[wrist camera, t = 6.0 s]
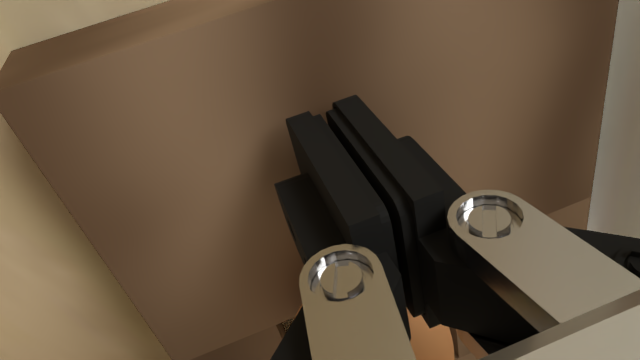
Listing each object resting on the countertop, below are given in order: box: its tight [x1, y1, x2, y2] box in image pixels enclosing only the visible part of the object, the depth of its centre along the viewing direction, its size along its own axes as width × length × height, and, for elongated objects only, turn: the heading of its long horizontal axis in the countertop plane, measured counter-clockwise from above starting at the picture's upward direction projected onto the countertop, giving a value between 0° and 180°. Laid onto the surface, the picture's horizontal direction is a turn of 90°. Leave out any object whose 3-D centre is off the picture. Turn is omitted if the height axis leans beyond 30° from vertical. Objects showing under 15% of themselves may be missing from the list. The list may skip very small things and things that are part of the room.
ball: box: [293, 305, 454, 360], centre depth 14 cm, size 4×4×4 cm
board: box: [0, 0, 619, 360], centre depth 17 cm, size 14×18×2 cm
